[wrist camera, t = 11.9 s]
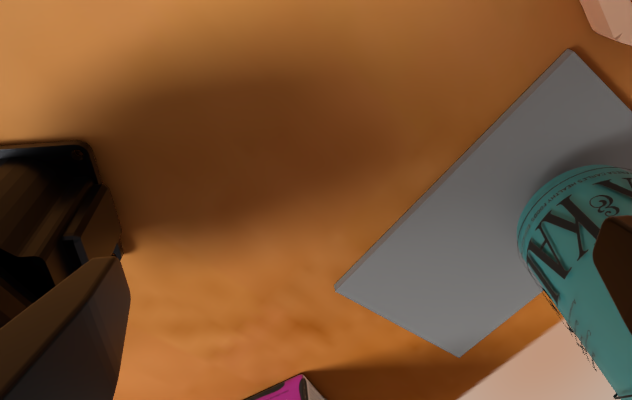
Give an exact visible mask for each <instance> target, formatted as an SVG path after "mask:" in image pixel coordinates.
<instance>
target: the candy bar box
mask: <svg viewBox="0 0 632 400" xmlns="http://www.w3.org/2000/svg"><path fill="white" fill-rule="evenodd" d="M246 400H327V399H326V398H324V397H323V396H322V395H321V394H320V393H319V392H318V391H317V389H316V388H315V387H314V386H313V385H312V383H311V382H310V381H309V380H308V379H307V378H306V377H305V376H304V375H303V374H301V375H297V376H295V377H293V378H291V379H288V380H286V381H284V382H282V383H280V384H277V385H275V386H273V387H271V388H269V389H267V390H265V391H263V392H260V393H258V394H256V395H254V396H252V397H250V398H248V399H246Z"/></svg>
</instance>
